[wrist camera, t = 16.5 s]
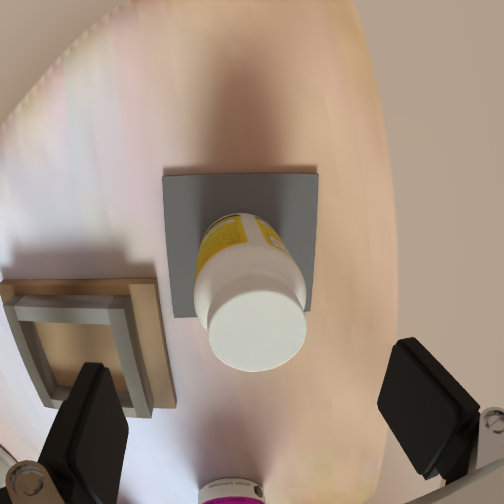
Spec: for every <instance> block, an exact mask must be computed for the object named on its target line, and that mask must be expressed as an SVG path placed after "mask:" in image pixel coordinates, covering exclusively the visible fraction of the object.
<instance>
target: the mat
mask: <svg viewBox="0 0 504 504" xmlns="http://www.w3.org/2000/svg"><path fill="white" fill-rule="evenodd" d="M318 176H319V174H308V173H230V174H197V175H176V176H163V177H162V183H163V202H164V218H165V232H166V245H167V256H168V267H169V277H170V286H171V295H172V304H173V312H174V318H184V317H198V316H197V314H196V311H195V306H194V287H195V277H196V268H197V260H198V254H199V247H200V243H201V240H202V238H203V236H204V234H205V232H206V231H207V229H208V228H209V227H210V226H211V225H212V224H213V223H214V222H215V221H217V220H218V219H220V218H222V217H224V216H227V215H230V214H235V213H247V214H252V215H255V216H258V217H260V218H262V219H263V220H265V221H266V222H267V223H268V224H270V225H271V227H272V228H273V229H274V230H275V231H276V233H277V234H278V236H279V237H280V239H281V241H282V242H283V244H284V245H285V247H286V248H287V250H288V251H289V253H290V255H291V256H292V258H293V259H294V261H295V263H296V264H297V266H298V267H299V269H300V271H301V273H302V276H303V278H304V281H305V285H306V303H305V308H304V312H306V311H310V307H311V296H312V284H313V271H314V257H315V241H316V224H317V203H318Z"/></svg>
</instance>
